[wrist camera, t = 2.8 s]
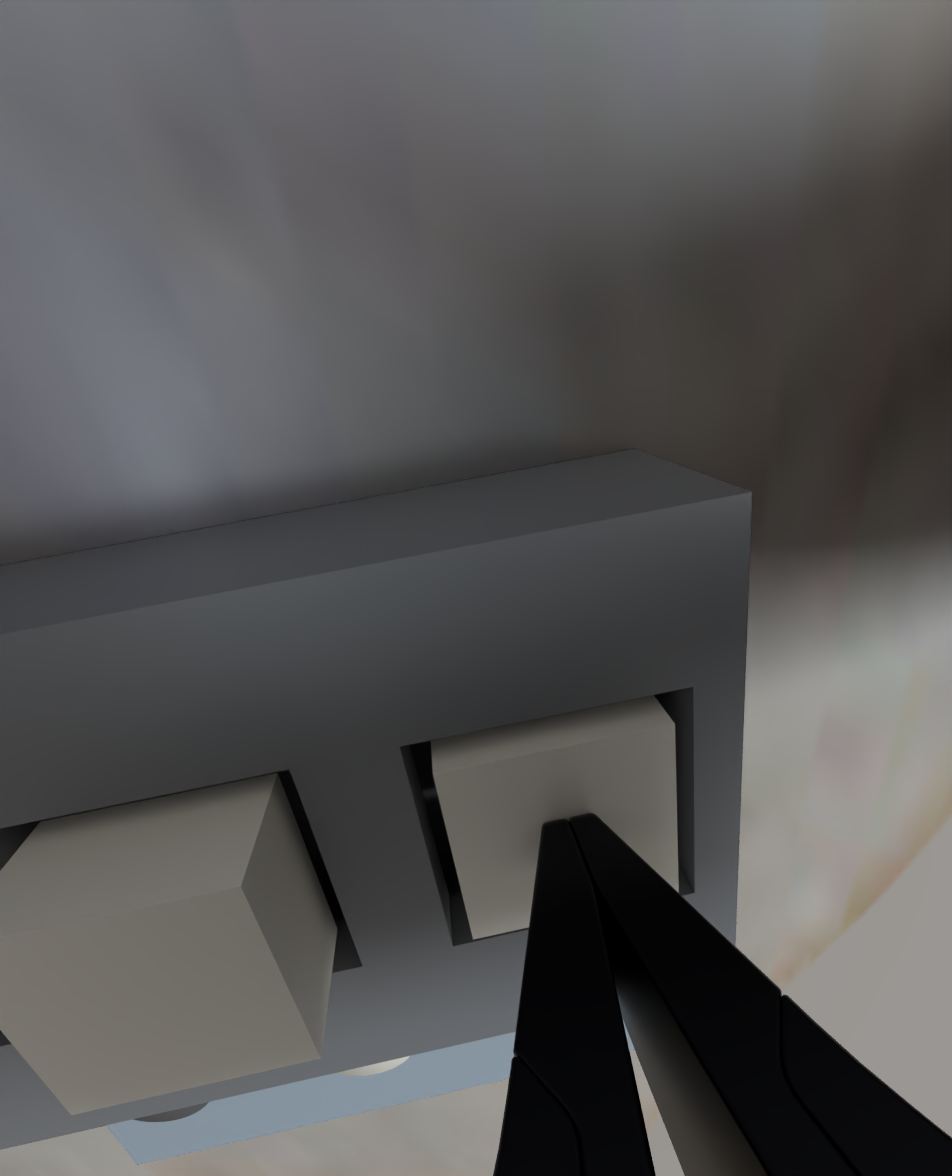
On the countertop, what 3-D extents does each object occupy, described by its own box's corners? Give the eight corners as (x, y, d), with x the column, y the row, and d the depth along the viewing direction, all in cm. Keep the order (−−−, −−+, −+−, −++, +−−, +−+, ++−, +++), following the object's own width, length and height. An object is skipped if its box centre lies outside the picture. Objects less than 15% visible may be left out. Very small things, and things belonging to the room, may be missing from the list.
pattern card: (619, 886, 15) (626, 902, 15) (632, 1034, 18) (638, 1052, 18) (39, 1013, 15) (27, 1035, 14) (143, 1147, 17) (135, 1169, 17)
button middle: (277, 772, 8) (240, 885, 7) (337, 929, 10) (321, 1058, 8) (40, 821, 8) (-65, 951, 6) (135, 973, 10) (71, 1114, 8)
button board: (634, 448, 11) (752, 491, 7) (651, 826, 15) (733, 981, 11) (-324, 625, 10) (-754, 777, 6) (-37, 974, 14) (-200, 1195, 10)
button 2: (624, 656, 10) (674, 723, 8) (634, 807, 11) (678, 894, 9) (428, 696, 10) (432, 774, 8) (462, 844, 11) (473, 939, 9)
